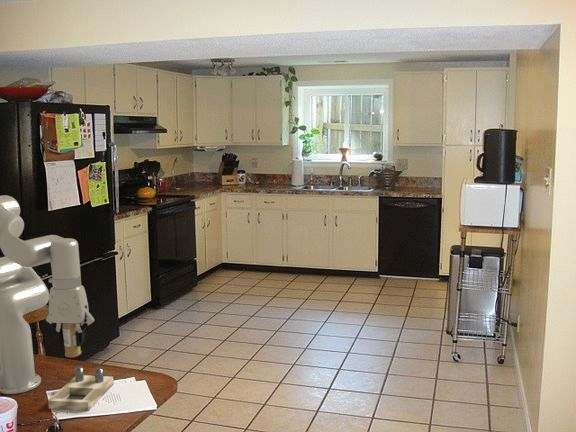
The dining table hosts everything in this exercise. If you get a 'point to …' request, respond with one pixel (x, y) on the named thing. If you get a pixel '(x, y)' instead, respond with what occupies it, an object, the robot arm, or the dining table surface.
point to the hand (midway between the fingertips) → (72, 343)
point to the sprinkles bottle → (70, 340)
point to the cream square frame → (81, 391)
